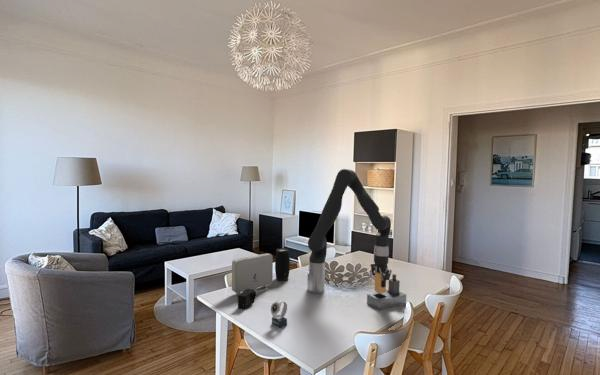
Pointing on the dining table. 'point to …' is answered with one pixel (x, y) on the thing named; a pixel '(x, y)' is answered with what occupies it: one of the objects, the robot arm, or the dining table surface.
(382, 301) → the grey stone block holder
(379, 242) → the robot arm
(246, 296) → the digital camera
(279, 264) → the portable speaker
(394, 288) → the twin plug
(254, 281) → the network device
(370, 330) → the dining table surface
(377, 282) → the orange plug
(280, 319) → the watch
